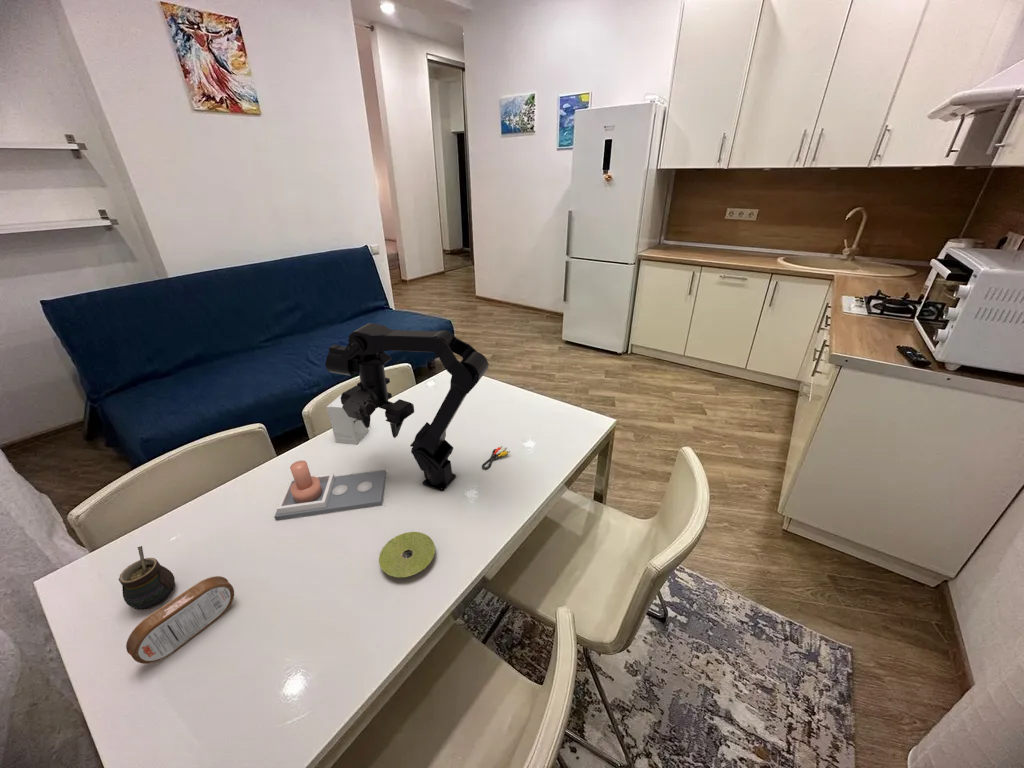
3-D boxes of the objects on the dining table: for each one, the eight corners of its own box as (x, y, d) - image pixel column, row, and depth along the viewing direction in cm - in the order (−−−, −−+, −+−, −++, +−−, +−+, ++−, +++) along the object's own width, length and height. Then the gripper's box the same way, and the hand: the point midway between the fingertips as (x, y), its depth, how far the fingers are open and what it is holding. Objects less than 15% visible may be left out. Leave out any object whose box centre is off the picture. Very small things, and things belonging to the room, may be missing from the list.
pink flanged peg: (325, 494, 100) (316, 465, 95) (298, 507, 96) (287, 478, 92) (317, 481, 104) (308, 453, 100) (290, 493, 100) (280, 464, 96)
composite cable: (485, 472, 109) (485, 465, 108) (474, 464, 112) (473, 457, 111) (511, 455, 115) (511, 448, 114) (499, 448, 118) (499, 441, 117)
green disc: (372, 555, 85) (370, 549, 84) (421, 529, 91) (419, 523, 90) (393, 594, 77) (392, 587, 76) (445, 563, 83) (444, 556, 82)
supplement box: (357, 445, 120) (348, 408, 115) (335, 442, 122) (325, 406, 116) (369, 431, 127) (362, 396, 121) (348, 429, 128) (339, 394, 122)
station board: (386, 473, 109) (384, 465, 107) (381, 505, 98) (379, 496, 97) (290, 486, 105) (287, 477, 104) (275, 520, 94) (272, 511, 93)
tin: (234, 594, 78) (219, 565, 74) (243, 603, 76) (227, 573, 72) (139, 666, 67) (114, 635, 63) (146, 677, 65) (122, 646, 61)
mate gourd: (130, 624, 73) (103, 587, 69) (134, 593, 79) (108, 558, 74) (179, 601, 77) (156, 565, 72) (179, 573, 82) (158, 538, 78)
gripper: (316, 382, 93) (329, 438, 100) (378, 402, 86) (387, 460, 93) (353, 364, 102) (362, 416, 109) (412, 381, 95) (418, 435, 102)
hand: (381, 431), depth 103 cm, fingers open, 9 cm apart
